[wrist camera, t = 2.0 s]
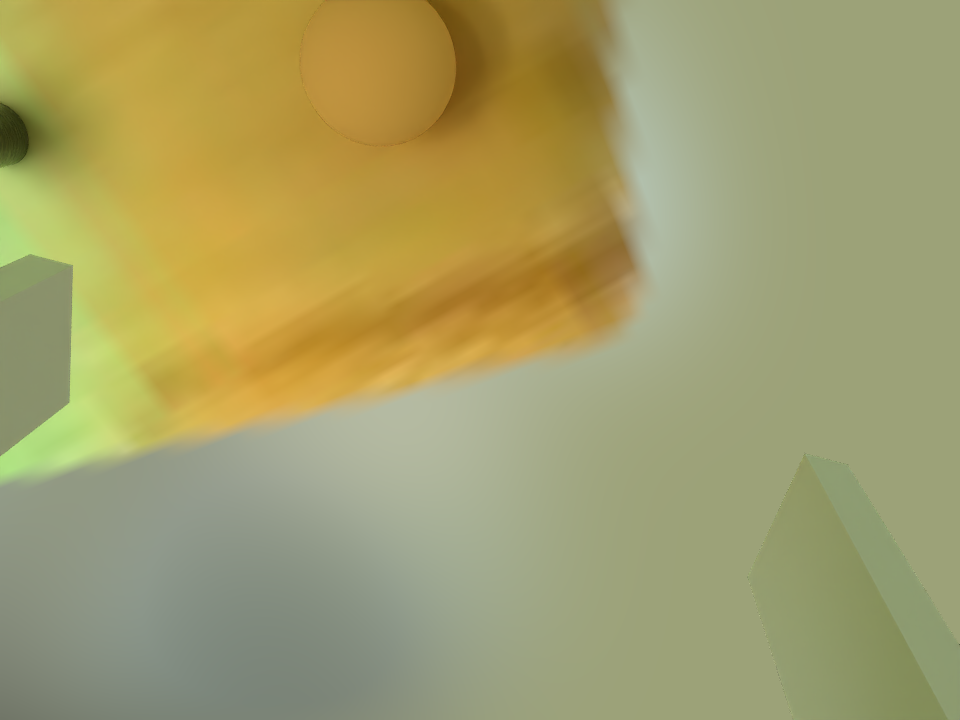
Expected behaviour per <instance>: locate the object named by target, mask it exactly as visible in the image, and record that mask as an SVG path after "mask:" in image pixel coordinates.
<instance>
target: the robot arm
mask: <svg viewBox="0 0 960 720" xmlns="http://www.w3.org/2000/svg"><path fill="white" fill-rule="evenodd" d="M72 279H73V265H69V264H66V263H62V262H58V261H54V260H50V259H46V258H42V257H38V256H34V255H28V256H25V257H23V258H21V259H19V260H16V261H14V262H12V263H10V264H7V265H5V266H3V267H1V268H0V456H1V455H3V454H4V453H5V452H6V451H8V450H9V449H10V448H12V447H13V446H14V445H15V444H17V443H18V442H19V441H21V440H22V439H23V438H24V437H26V436H27V435H28V434H30V433H31V432H32V431H33V430H35V429H36V428H37V427H39V426H40V425H41V424H42V423H44V422H45V421H46V420H48V419H49V418H50V417H52V416H53V415H54V414H55V413H57V412H58V411H59V410H61V409H62V408H63V407H64V406H66V405H67V404H68V403H69V396H70V357H71V318H72ZM748 580H749V583H750V586H751V590H752V593H753V596H754V599H755V602H756V605H757V608H758V611H759V615H760V618H761V621H762V624H763V627H764V630H765V633H766V637H767V640H768V643H769V646H770V649H771V652H772V656H773V659H774V662H775V665H776V668H777V671H778V674H779V678H780V680H781V684H782V687H783V690H784V693H785V697H786V700H787V703H788V706H789V709H790V712H791V715H792V718H793V720H960V644H959V643H958V642H957V640H956V639H955V637H954V635H953V634H952V632H951V631H950V629H949V627H948V626H947V624H946V622H945V621H944V620H943V618H942V616H941V614H940V613H939V611H938V610H937V608H936V607H935V605H934V603H933V602H932V600H931V598H930V597H929V595H928V593H927V592H926V590H925V589H924V587H923V585H922V584H921V582H920V581H919V579H918V577H917V576H916V574H915V572H914V571H913V569H912V568H911V566H910V564H909V563H908V561H907V560H906V558H905V556H904V555H903V553H902V551H901V550H900V548H899V547H898V545H897V543H896V542H895V540H894V539H893V537H892V535H891V534H890V532H889V531H888V529H887V527H886V526H885V524H884V522H883V521H882V519H881V518H880V516H879V514H878V513H877V511H876V510H875V508H874V506H873V505H872V503H871V501H870V500H869V498H868V497H867V495H866V493H865V492H864V490H863V488H862V487H861V485H860V484H859V482H858V480H857V479H856V477H855V476H854V474H853V472H852V471H851V469H850V468H849V466H848V465H847V464H844V463H840V462H836V461H832V460H828V459H824V458H820V457H816V456H813V455H809V454H804V457H803V459H802V461H801V463H800V465H799V467H798V469H797V472H796V474H795V476H794V478H793V480H792V482H791V484H790V487H789V489H788V491H787V493H786V495H785V497H784V499H783V502H782V504H781V506H780V508H779V510H778V512H777V515H776V517H775V519H774V521H773V523H772V525H771V527H770V530H769V532H768V534H767V536H766V538H765V540H764V542H763V545H762V547H761V549H760V551H759V553H758V555H757V558H756V560H755V562H754V564H753V566H752V568H751V571H750V573H749V575H748Z"/></svg>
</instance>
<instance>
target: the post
mask: <svg viewBox="0 0 960 720" xmlns="http://www.w3.org/2000/svg"><path fill="white" fill-rule="evenodd" d="M27 149H28V134H27V131H26V128H25V126H24V124H23V122H22V120H21V119H20V118H19V116H18V115H17V114H16V113H15V112H14V111H13V110H11V109H10V108H9V107H7V106H5V105H3V104H1V103H0V168H2V167H6V166H9V165H13V164H15V163H18V162H19V161H20V160H21V159H22V158H23V157H24V156H25V154H26V152H27Z"/></svg>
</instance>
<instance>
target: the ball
mask: <svg viewBox="0 0 960 720" xmlns="http://www.w3.org/2000/svg"><path fill="white" fill-rule="evenodd" d="M300 71H301V77H302V82H303V85H304V88H305V91H306V94H307V96H308V98H309V100H310V102H311V104H312V106H313V107H314V109H315V110H316V112H317V113H318V114H319V116H320V117H321V118H322V119H323V120H324V121H325V122H326V123H327V124H328V125H329V126H330V127H331V128H332V129H334V130H335V131H336V132H337V133H339V134H341V135H342V136H344V137H346V138H348V139H350V140H352V141H355V142H358V143H362V144H365V145H372V146H392V145H397V144H401V143H405V142H407V141H409V140H412V139H414V138H416V137H418V136H419V135H421V134H423V133H424V132H425V131H427V130H428V129H429V128H430V127H431V126H432V125H433V124H434V123H435V122H436V121H437V120H438V119H439V117H440V116H441V115H442V113H443V112H444V110H445V108H446V106H447V104H448V102H449V100H450V97H451V95H452V92H453V88H454V84H455V77H456V57H455V50H454V46H453V42H452V39H451V36H450V34H449V31H448V29H447V27H446V25H445V23H444V22H443V20H442V18H441V17H440V16H439V14H438V13H437V12H436V10H435V9H434V8H433V7H432V6H431V5H430V4H429V3H428V2H427V1H426V0H325V1H324V2H323V3H322V4H321V5H320V7H319V8H318V9H317V10H316V11H315V13H314V14H313V16H312V18H311V19H310V21H309V23H308V25H307V27H306V29H305V32H304V36H303V39H302V43H301V49H300Z"/></svg>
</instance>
